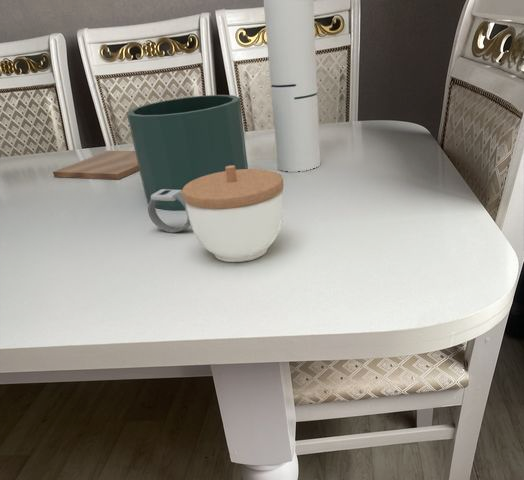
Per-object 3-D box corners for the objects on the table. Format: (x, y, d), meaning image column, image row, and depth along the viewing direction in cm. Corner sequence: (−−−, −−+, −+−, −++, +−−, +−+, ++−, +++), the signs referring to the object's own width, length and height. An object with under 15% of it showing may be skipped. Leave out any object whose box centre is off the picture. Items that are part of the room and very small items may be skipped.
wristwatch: (200, 228, 67) (194, 189, 64) (189, 236, 65) (182, 196, 62) (160, 226, 70) (152, 188, 67) (148, 233, 68) (140, 195, 65)
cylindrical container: (281, 161, 92) (267, -11, 78) (322, 159, 90) (315, -17, 77) (274, 172, 86) (257, -11, 72) (317, 170, 84) (309, -18, 71)
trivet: (54, 177, 100) (52, 171, 99) (109, 155, 111) (108, 150, 111) (119, 179, 93) (117, 173, 92) (170, 156, 105) (169, 151, 104)
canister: (125, 207, 78) (103, 117, 72) (184, 176, 90) (170, 97, 83) (215, 213, 72) (200, 114, 65) (266, 179, 83) (258, 93, 76)
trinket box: (278, 228, 64) (271, 148, 59) (298, 261, 55) (291, 171, 50) (191, 242, 63) (177, 162, 58) (197, 278, 54) (180, 188, 49)
